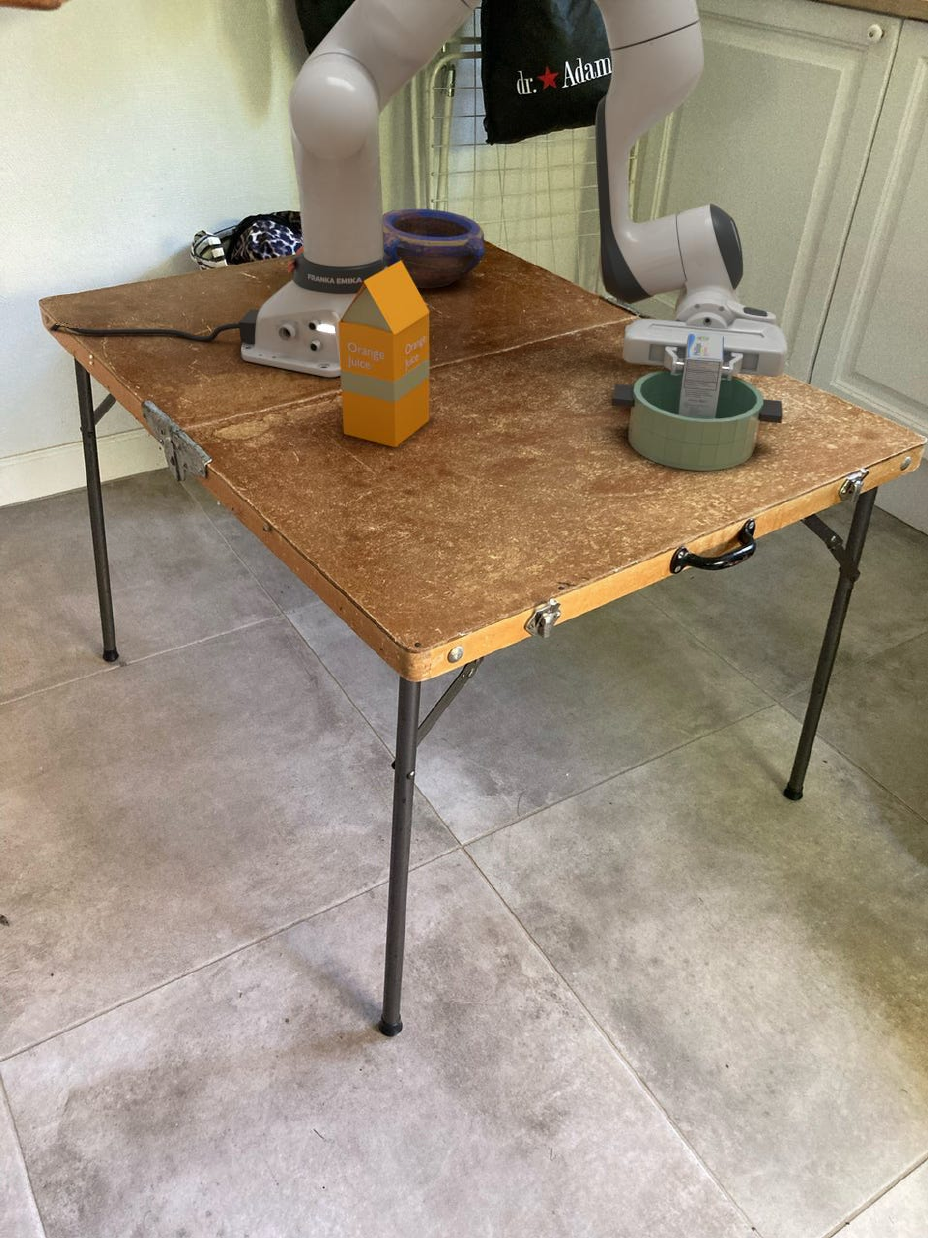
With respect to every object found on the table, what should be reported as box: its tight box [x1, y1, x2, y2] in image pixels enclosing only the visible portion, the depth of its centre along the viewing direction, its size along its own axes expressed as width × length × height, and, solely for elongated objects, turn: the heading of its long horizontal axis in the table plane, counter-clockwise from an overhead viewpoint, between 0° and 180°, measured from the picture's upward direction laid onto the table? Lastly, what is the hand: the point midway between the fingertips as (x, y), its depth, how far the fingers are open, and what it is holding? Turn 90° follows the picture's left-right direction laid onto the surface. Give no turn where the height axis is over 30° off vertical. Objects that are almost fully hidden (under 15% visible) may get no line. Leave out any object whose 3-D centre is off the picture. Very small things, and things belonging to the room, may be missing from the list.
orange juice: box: [338, 261, 431, 448], centre depth 130 cm, size 8×9×20 cm
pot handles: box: [611, 383, 784, 424], centre depth 131 cm, size 20×4×1 cm, turn 78°
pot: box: [627, 368, 764, 472], centre depth 132 cm, size 16×16×6 cm
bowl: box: [383, 208, 486, 289], centre depth 179 cm, size 18×18×10 cm
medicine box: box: [679, 334, 724, 419], centre depth 129 cm, size 8×4×9 cm, turn 169°
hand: (701, 372), depth 130 cm, fingers closed on medicine box, 4 cm apart
